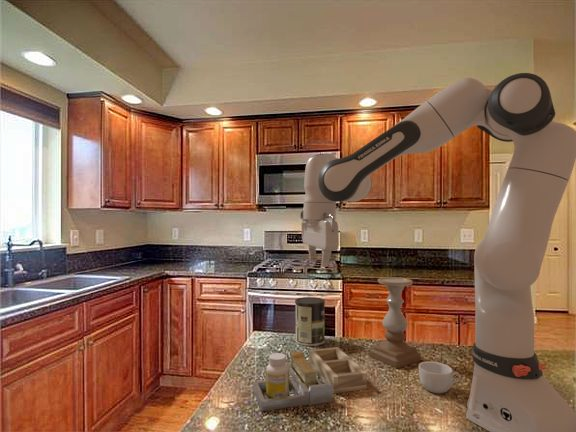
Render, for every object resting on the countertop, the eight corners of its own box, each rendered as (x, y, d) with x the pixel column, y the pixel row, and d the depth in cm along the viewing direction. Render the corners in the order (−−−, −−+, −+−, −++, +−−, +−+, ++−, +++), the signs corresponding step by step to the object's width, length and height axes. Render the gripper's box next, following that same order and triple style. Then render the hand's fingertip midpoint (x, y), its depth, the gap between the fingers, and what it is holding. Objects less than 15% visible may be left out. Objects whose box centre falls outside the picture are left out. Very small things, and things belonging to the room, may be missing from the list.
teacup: (424, 396, 85) (424, 373, 85) (414, 381, 93) (414, 360, 93) (467, 398, 84) (467, 375, 84) (454, 382, 92) (454, 362, 92)
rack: (366, 388, 88) (366, 372, 89) (333, 393, 86) (333, 377, 86) (337, 360, 106) (337, 347, 106) (309, 363, 103) (309, 350, 103)
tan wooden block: (316, 387, 89) (316, 368, 89) (304, 389, 88) (304, 369, 88) (301, 367, 101) (301, 350, 101) (291, 369, 100) (291, 351, 100)
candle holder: (368, 356, 109) (368, 278, 109) (392, 348, 115) (392, 275, 115) (397, 369, 100) (397, 284, 100) (421, 360, 106) (421, 280, 106)
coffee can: (323, 336, 128) (323, 296, 128) (326, 346, 117) (326, 303, 117) (294, 335, 128) (295, 296, 128) (294, 346, 117) (295, 303, 117)
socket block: (332, 401, 82) (332, 384, 82) (261, 412, 78) (261, 394, 78) (304, 365, 102) (304, 351, 102) (246, 372, 97) (246, 358, 97)
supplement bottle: (276, 389, 88) (276, 350, 88) (293, 396, 85) (293, 355, 85) (261, 397, 84) (261, 356, 84) (278, 405, 81) (278, 362, 81)
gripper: (345, 214, 89) (344, 269, 89) (318, 213, 108) (317, 258, 108) (321, 213, 87) (320, 269, 87) (298, 213, 107) (297, 259, 107)
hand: (318, 263), depth 98 cm, fingers open, 8 cm apart
